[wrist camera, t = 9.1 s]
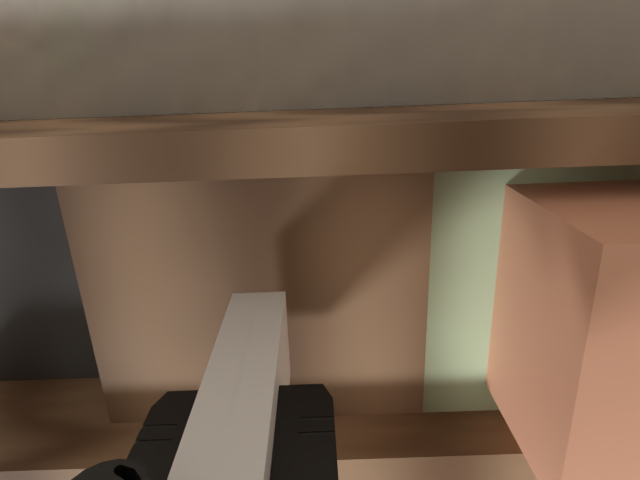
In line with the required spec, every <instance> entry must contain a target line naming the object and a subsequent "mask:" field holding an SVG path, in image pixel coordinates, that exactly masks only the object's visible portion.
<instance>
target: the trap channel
mask: <svg viewBox="0 0 640 480" xmlns="http://www.w3.org/2000/svg"><path fill="white" fill-rule="evenodd" d="M635 179H640V97H632V98H606V99H579V100H552V101H525V102H499V103H472V104H445V105H418V106H392V107H365V108H338V109H312V110H285V111H258V112H231V113H205V114H178V115H151V116H124V117H98V118H71V119H44V120H17V121H0V480H71V479H73V478H74V477H75V476H77V475H78V474H79V473H81V472H82V471H83V470H85V469H87V468H89V467H92V466H94V465H96V464H98V463H101V462H104V461H109V460H115V459H127V457H128V455H129V453H130V450H131V448H132V446H133V444H135V440H136V438H137V436H138V434H139V431H140V429H142V428H143V423H144V421H145V419H146V417H147V415H148V413H149V410H150V408H151V407H152V406H153V405H154V404H155V403H156V402H157V401H158V400H159V399H160V398H161V397H162V396H163V395H164V394H165V393H166V392H167V391H187V390H199V388H200V385H201V382H202V379H203V376H204V373H205V370H206V368H207V365H208V362H209V359H210V356H211V353H212V351H213V348H214V345H215V342H216V339H217V336H218V334H219V331H220V328H221V325H222V322H223V319H224V317H225V314H226V311H227V308H228V305H229V302H230V300H231V297H232V294H233V293H257V292H283V291H285V294H286V310H287V326H288V341H289V357H290V372H291V373H290V385H301V384H323V385H324V386H325V387H326V389H327V390H328V392H329V393H330V395H331V396H332V398H333V406H334V421H335V435H336V450H337V465H338V480H537V479H536V477H535V475H534V473H533V471H532V469H531V468H530V466H529V464H528V462H527V460H526V458H525V456H524V455H523V453H522V451H521V449H520V447H519V445H518V443H517V442H516V440H515V438H514V436H513V434H512V432H511V430H510V429H509V427H508V425H507V423H506V421H505V419H504V417H503V415H502V414H501V412H500V410H499V408H498V406H497V404H496V402H495V401H494V399H493V397H492V395H491V393H490V391H489V389H488V388H487V386H486V375H487V365H488V355H489V345H490V335H491V325H492V315H493V305H494V295H495V285H496V275H497V265H498V255H499V245H500V235H501V225H502V215H503V205H504V195H505V185H507V184H533V183H559V182H584V181H610V180H635Z"/></svg>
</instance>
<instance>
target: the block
mask: <svg viewBox="0 0 640 480" xmlns="http://www.w3.org/2000/svg"><path fill="white" fill-rule="evenodd" d="M486 386H487V388H488V389H489V391H490V393H491V395H492V397H493V399H494V401H495V402H496V404H497V406H498V408H499V410H500V412H501V414H502V415H503V417H504V419H505V421H506V423H507V425H508V427H509V429H510V430H511V432H512V434H513V436H514V438H515V440H516V442H517V443H518V445H519V447H520V449H521V451H522V453H523V455H524V456H525V458H526V460H527V462H528V464H529V466H530V468H531V469H532V471H533V473H534V475H535V477H536V479H537V480H640V179H635V180H610V181H584V182H559V183H533V184H507V185H505V195H504V205H503V215H502V225H501V235H500V245H499V255H498V265H497V275H496V285H495V295H494V305H493V315H492V325H491V335H490V345H489V355H488V365H487V375H486Z"/></svg>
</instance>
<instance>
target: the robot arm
mask: <svg viewBox="0 0 640 480" xmlns="http://www.w3.org/2000/svg"><path fill="white" fill-rule="evenodd" d="M290 373H291V372H290V357H289V341H288V326H287V310H286V294H285V291H283V292H257V293H233V294H232V297H231V300H230V302H229V305H228V308H227V311H226V314H225V317H224V319H223V322H222V325H221V328H220V331H219V334H218V336H217V339H216V342H215V345H214V348H213V351H212V353H211V356H210V359H209V362H208V365H207V368H206V370H205V373H204V376H203V379H202V382H201V385H200V388H199V390H187V391H167V392H166V393H165V394H164V395H163V396H162V397H161V398H160V399H159V400H158V401H157V402H156V403H155V404H154V405H153V406H152V407H151V408H150V410H149V413H148V415H147V417H146V419H145V421H144V423H143V428H142V429H140V431H139V434H138V436H137V438H136V440H135V444H133V446H132V448H131V450H130V453H129V455H128V457H127V459H115V460H109V461H104V462H101V463H98V464H96V465H94V466H92V467H89V468H87V469H85V470H83V471H82V472H81V473H79V474H78V475H77V476H75V477H74V478H73V479H71V480H338V465H337V450H336V435H335V421H334V406H333V398H332V396H331V395H330V393H329V392H328V390H327V389H326V387H325V386H324V385H323V384H301V385H290Z"/></svg>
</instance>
